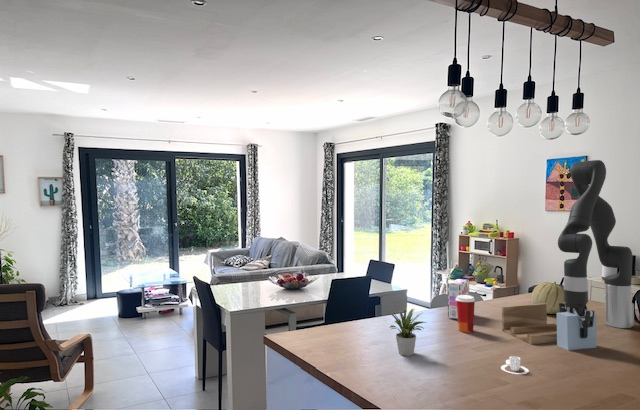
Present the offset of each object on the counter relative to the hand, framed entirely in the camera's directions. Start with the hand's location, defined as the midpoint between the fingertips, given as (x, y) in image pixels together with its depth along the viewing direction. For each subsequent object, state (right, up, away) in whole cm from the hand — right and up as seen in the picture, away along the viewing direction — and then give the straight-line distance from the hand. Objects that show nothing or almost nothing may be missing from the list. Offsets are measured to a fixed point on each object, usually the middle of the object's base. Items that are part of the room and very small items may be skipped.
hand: (576, 335), depth 152 cm
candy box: (-28, -5, +43) cm, 52 cm away
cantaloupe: (+15, -4, +46) cm, 49 cm away
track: (-7, -4, +13) cm, 16 cm away
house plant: (-63, -5, -4) cm, 64 cm away
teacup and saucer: (-29, -5, -19) cm, 35 cm away
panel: (0, -4, 0) cm, 4 cm away
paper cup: (-33, -5, +21) cm, 39 cm away
